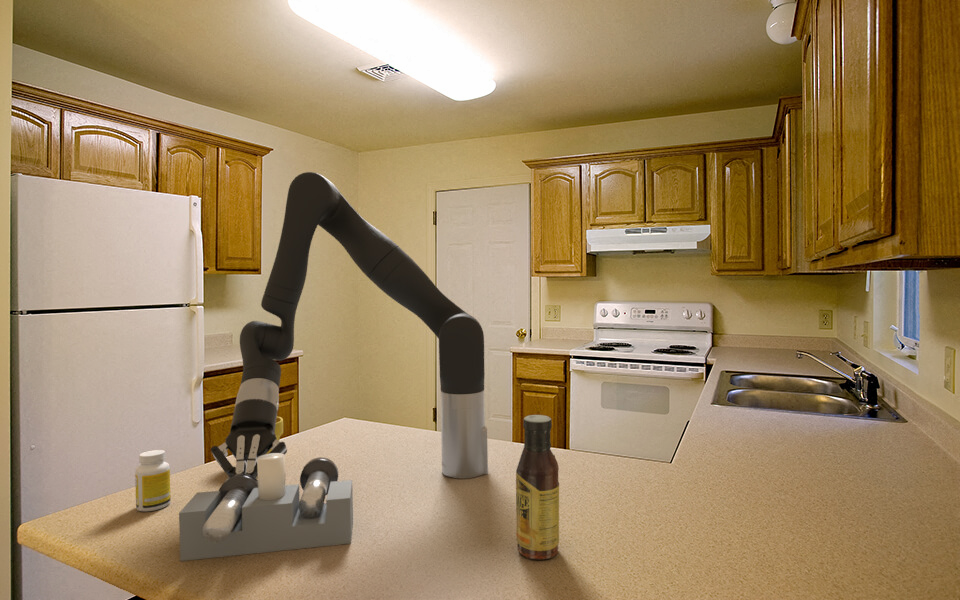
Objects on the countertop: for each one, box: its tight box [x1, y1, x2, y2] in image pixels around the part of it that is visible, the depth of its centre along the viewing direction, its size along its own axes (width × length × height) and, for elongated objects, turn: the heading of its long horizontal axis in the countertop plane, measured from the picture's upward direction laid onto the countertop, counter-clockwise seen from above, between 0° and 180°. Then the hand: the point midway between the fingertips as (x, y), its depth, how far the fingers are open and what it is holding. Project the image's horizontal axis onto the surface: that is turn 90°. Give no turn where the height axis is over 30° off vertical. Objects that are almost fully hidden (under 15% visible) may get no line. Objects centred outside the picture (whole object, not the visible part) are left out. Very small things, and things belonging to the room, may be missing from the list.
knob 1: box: [203, 473, 258, 542], centre depth 82 cm, size 6×14×6 cm, turn 11°
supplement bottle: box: [134, 449, 171, 512], centre depth 98 cm, size 5×5×10 cm
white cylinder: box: [257, 453, 286, 500], centre depth 84 cm, size 4×4×6 cm
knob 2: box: [299, 456, 339, 517], centre depth 90 cm, size 6×14×6 cm, turn 11°
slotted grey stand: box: [178, 479, 354, 562], centre depth 84 cm, size 24×8×7 cm, turn 101°
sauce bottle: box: [515, 414, 560, 561], centre depth 79 cm, size 7×6×20 cm
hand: (242, 498), depth 90 cm, fingers closed
